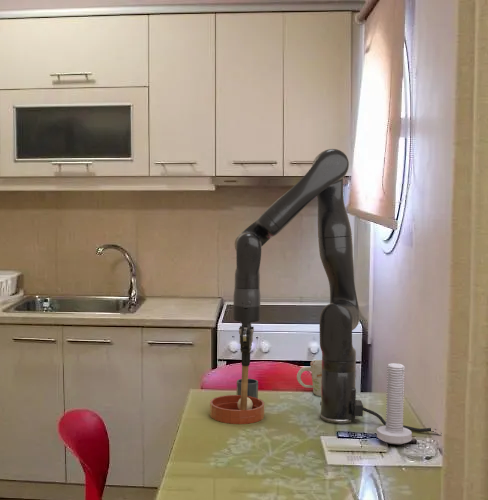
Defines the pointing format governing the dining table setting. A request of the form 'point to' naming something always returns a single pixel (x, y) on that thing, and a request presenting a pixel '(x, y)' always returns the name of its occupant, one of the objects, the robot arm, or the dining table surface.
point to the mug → (313, 376)
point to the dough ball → (249, 403)
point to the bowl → (235, 410)
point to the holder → (249, 388)
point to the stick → (244, 388)
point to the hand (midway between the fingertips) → (245, 364)
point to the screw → (395, 408)
